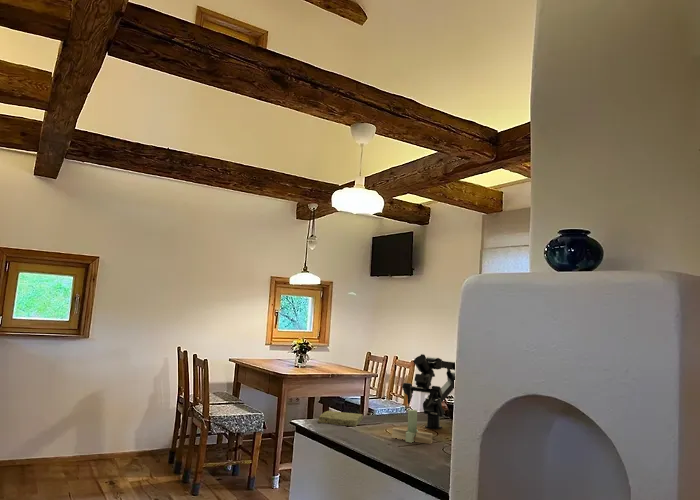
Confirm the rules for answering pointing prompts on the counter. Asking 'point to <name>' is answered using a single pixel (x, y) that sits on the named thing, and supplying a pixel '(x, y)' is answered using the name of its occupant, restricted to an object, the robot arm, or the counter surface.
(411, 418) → the green joystick knob
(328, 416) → the decorative tile
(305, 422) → the counter surface
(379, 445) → the counter surface
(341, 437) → the counter surface
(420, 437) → the birch slotted plate
